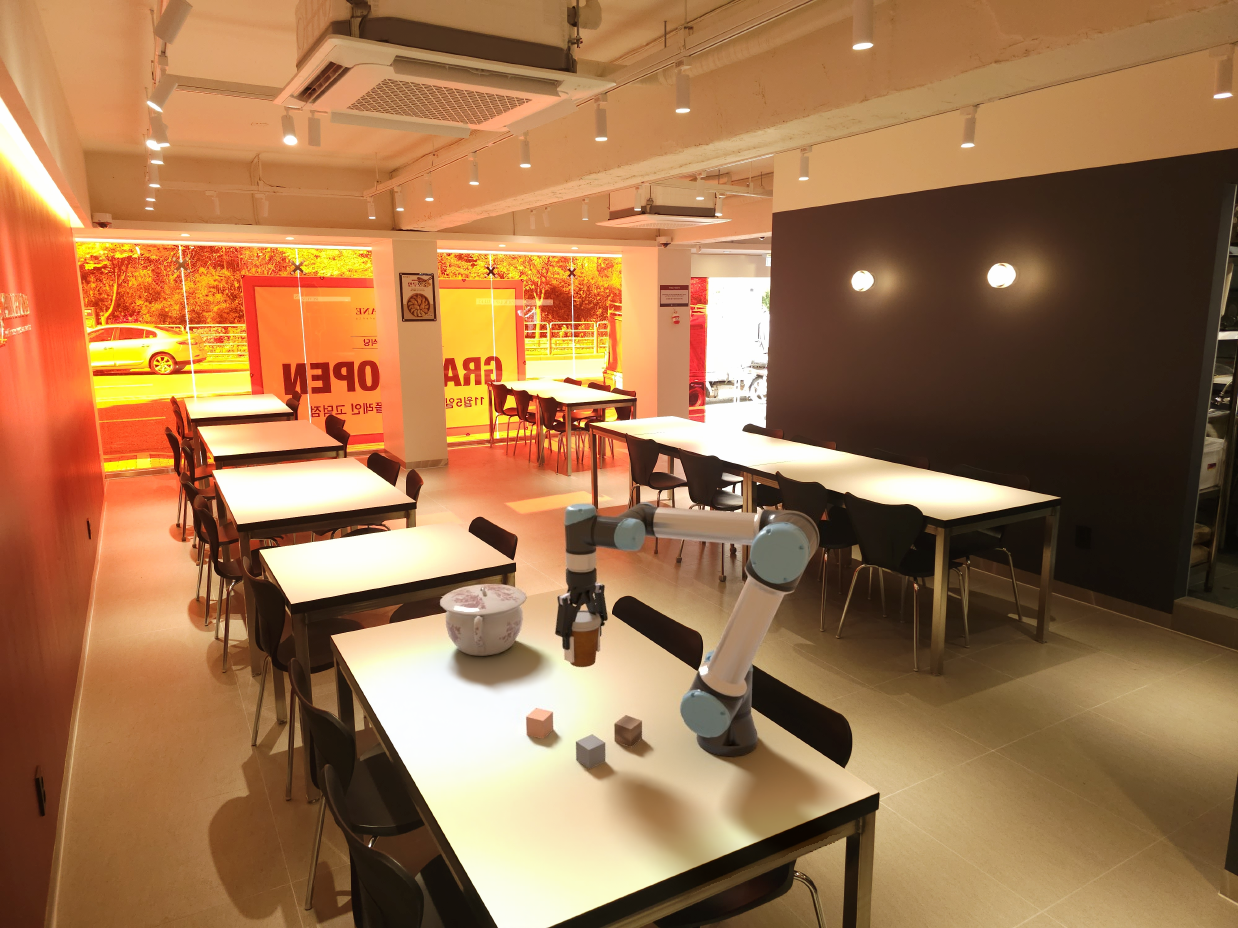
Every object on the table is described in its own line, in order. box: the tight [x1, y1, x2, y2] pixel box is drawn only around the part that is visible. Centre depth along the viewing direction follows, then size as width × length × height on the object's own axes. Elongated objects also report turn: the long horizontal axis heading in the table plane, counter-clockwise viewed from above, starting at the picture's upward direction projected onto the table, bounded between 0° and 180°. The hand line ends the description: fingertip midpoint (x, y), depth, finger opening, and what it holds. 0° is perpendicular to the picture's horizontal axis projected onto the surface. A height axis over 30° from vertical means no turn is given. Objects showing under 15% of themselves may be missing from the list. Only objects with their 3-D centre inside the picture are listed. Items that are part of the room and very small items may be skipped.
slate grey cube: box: [575, 734, 606, 770], centre depth 185 cm, size 5×5×5 cm
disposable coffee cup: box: [566, 609, 601, 668], centre depth 191 cm, size 10×10×12 cm
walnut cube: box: [613, 714, 643, 748], centre depth 194 cm, size 5×5×5 cm
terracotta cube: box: [525, 707, 554, 739], centre depth 198 cm, size 5×5×5 cm
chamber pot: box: [439, 583, 528, 657], centre depth 248 cm, size 28×28×21 cm
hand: (582, 655), depth 192 cm, fingers closed on disposable coffee cup, 8 cm apart
